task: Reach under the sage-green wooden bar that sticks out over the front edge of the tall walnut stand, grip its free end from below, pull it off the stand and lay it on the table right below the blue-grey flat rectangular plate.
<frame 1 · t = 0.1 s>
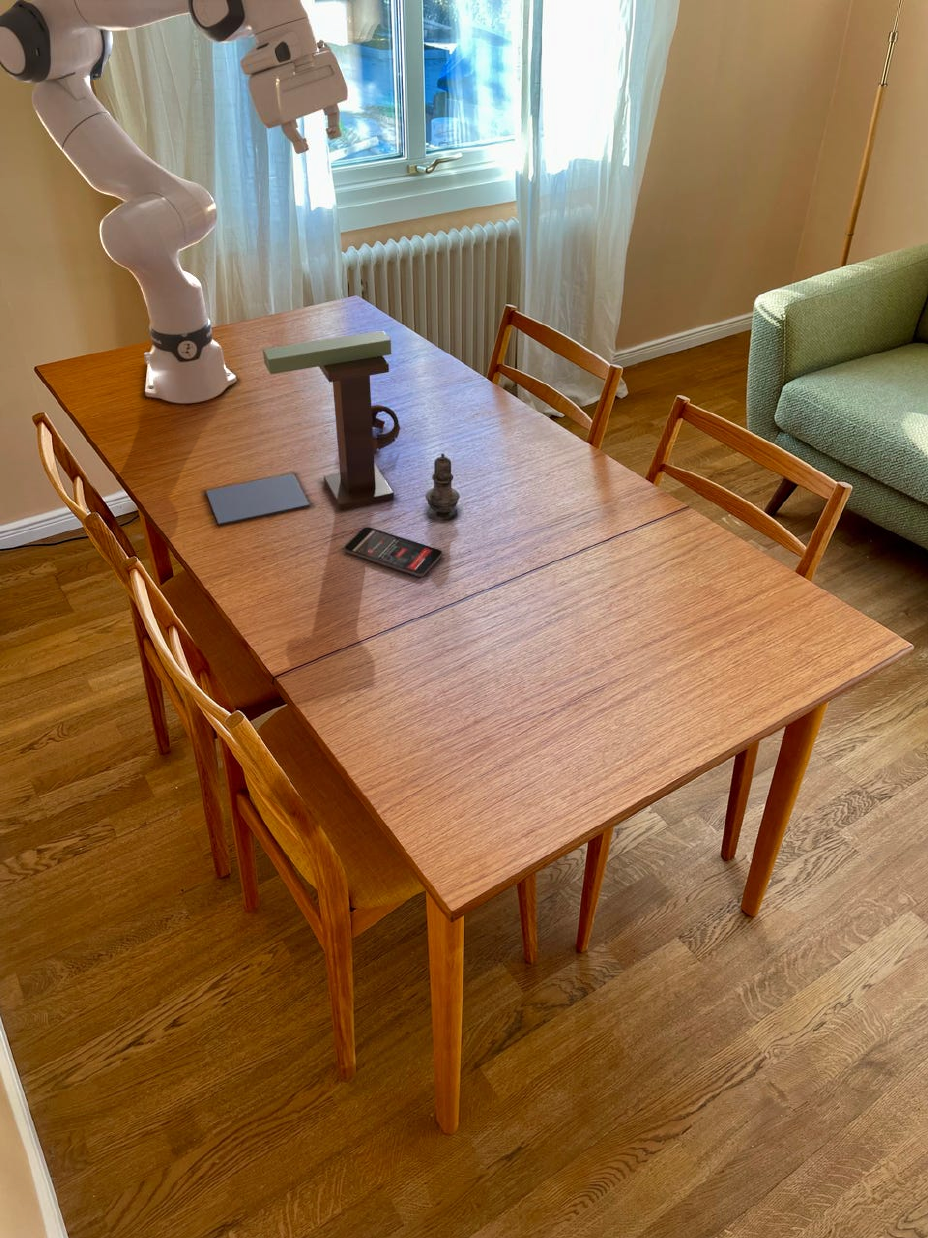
hand: (319, 144, 152), 52 cm above the table, tool tilted 20°, fingers open, 8 cm apart
bar: (328, 358, 152), point 26 cm above the table, touching stand
pottery mug: (370, 441, 183), on the table
smartphone: (393, 554, 156), on the table
blue-grey flat rectangular plate: (257, 499, 167), on the table
salt shaker: (442, 513, 165), on the table
stand: (358, 491, 170), on the table
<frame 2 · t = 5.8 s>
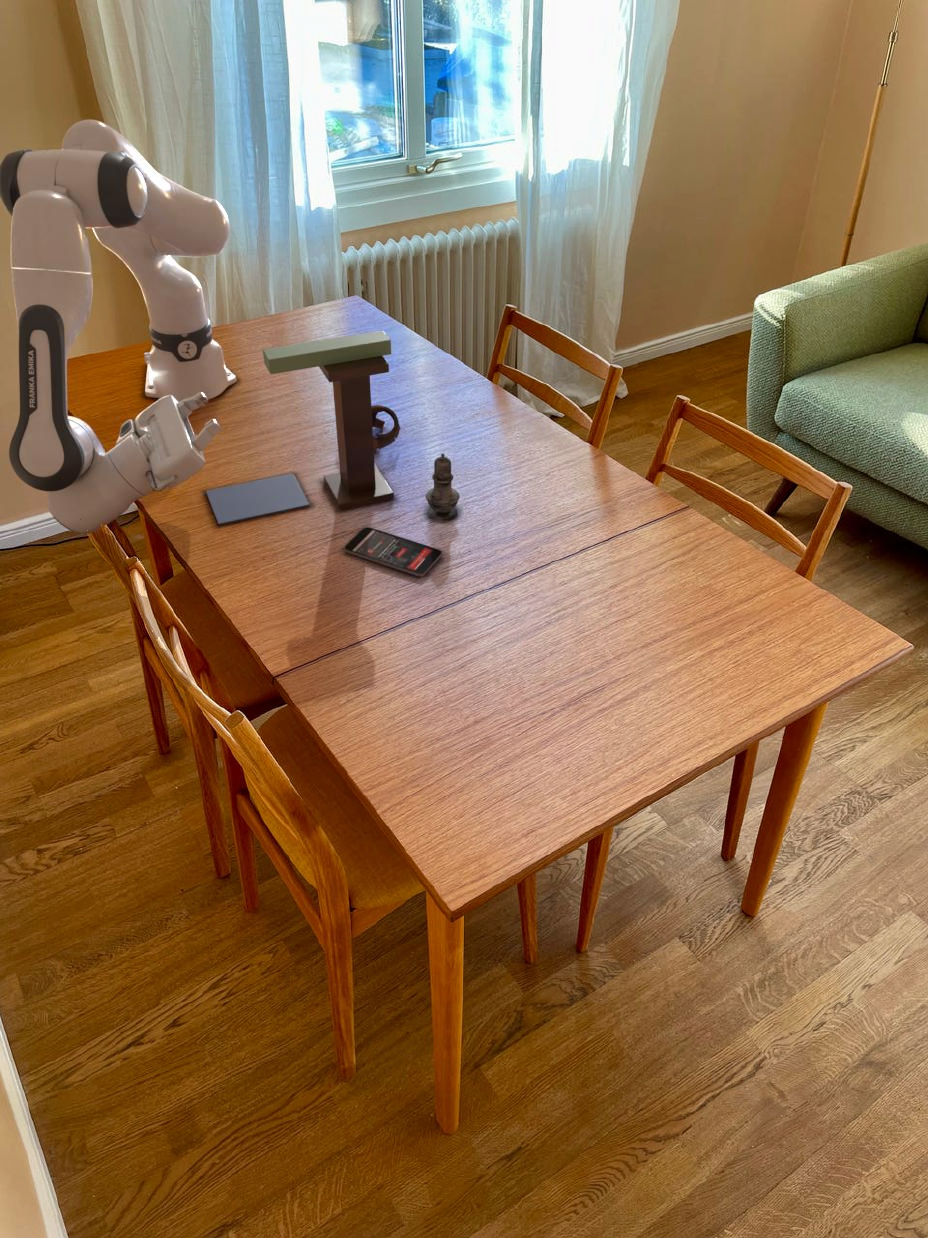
hand: (211, 409, 149), 21 cm above the table, tool pointing upward, fingers open, 8 cm apart
nothing on the table moved.
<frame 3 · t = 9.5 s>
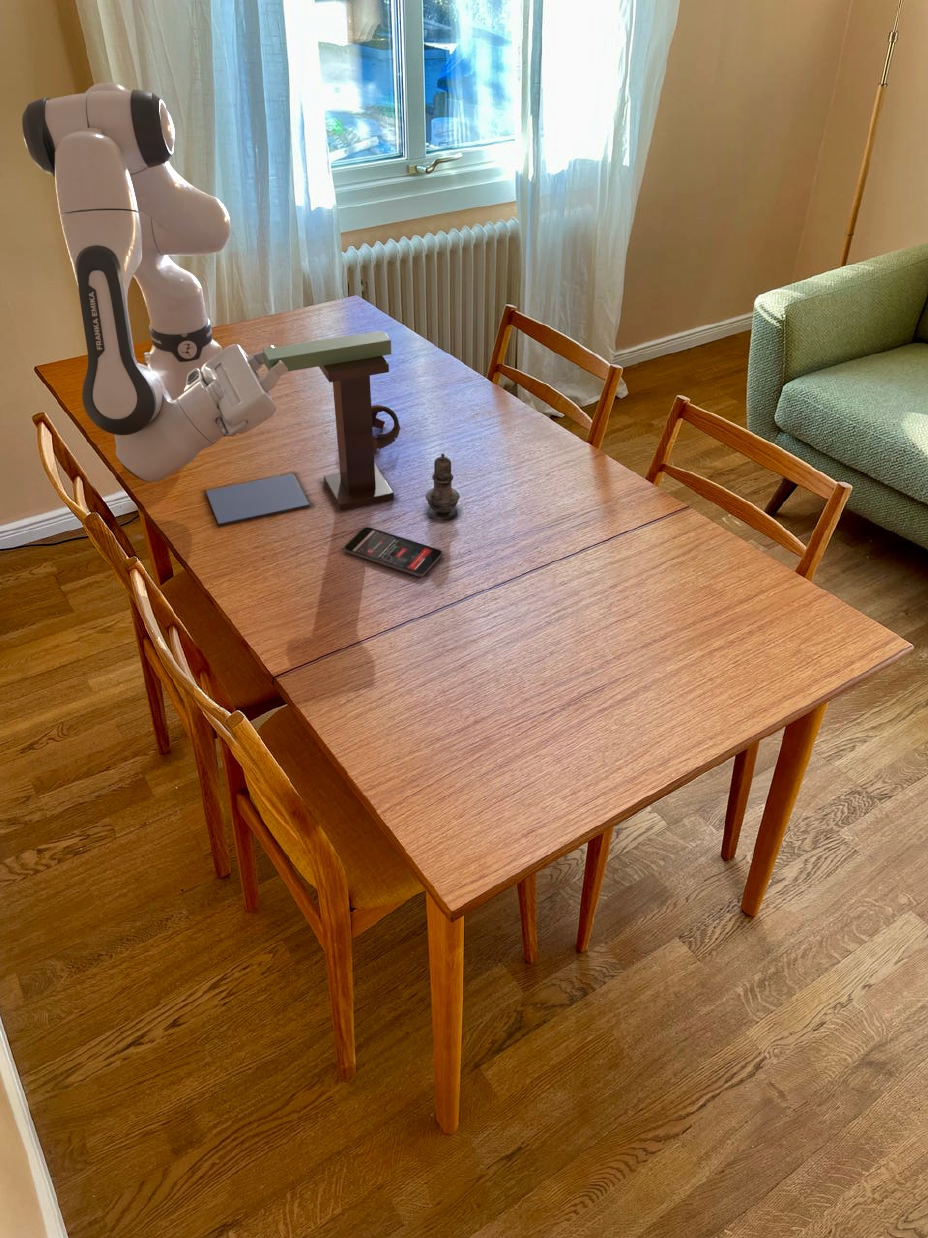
hand: (280, 356, 148), 28 cm above the table, tool pointing upward, fingers closed on bar, 4 cm apart
bar: (328, 359, 152), point 26 cm above the table, touching gripper, stand
everything else where it was.
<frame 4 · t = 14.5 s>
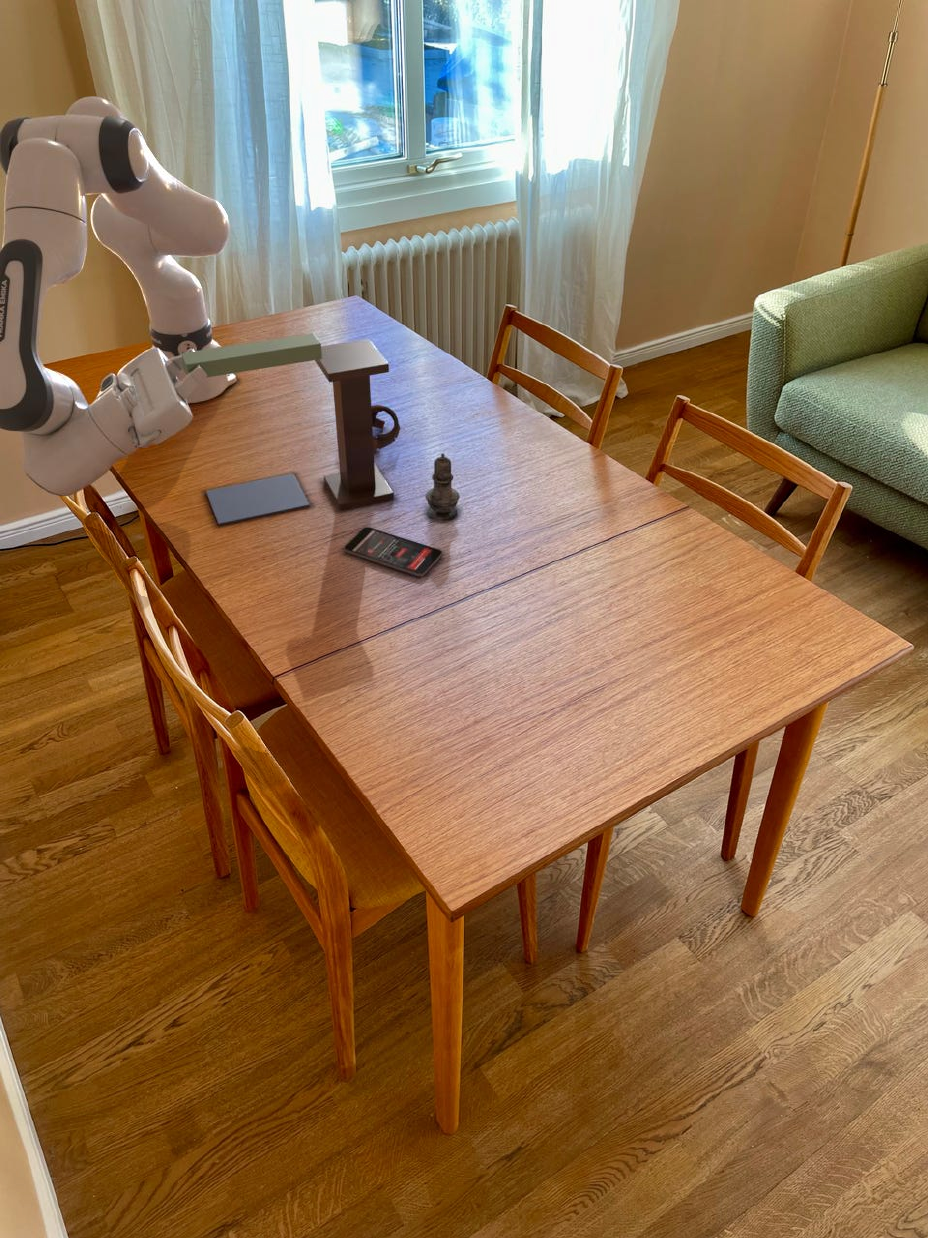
hand: (199, 361, 138), 32 cm above the table, tool pointing upward, fingers closed on bar, 4 cm apart
bar: (253, 363, 141), point 30 cm above the table, touching gripper
everything else where it was.
when the fingers open (10 cm above the table, at t = 19.5 s): bar drops 5 cm, on the table.
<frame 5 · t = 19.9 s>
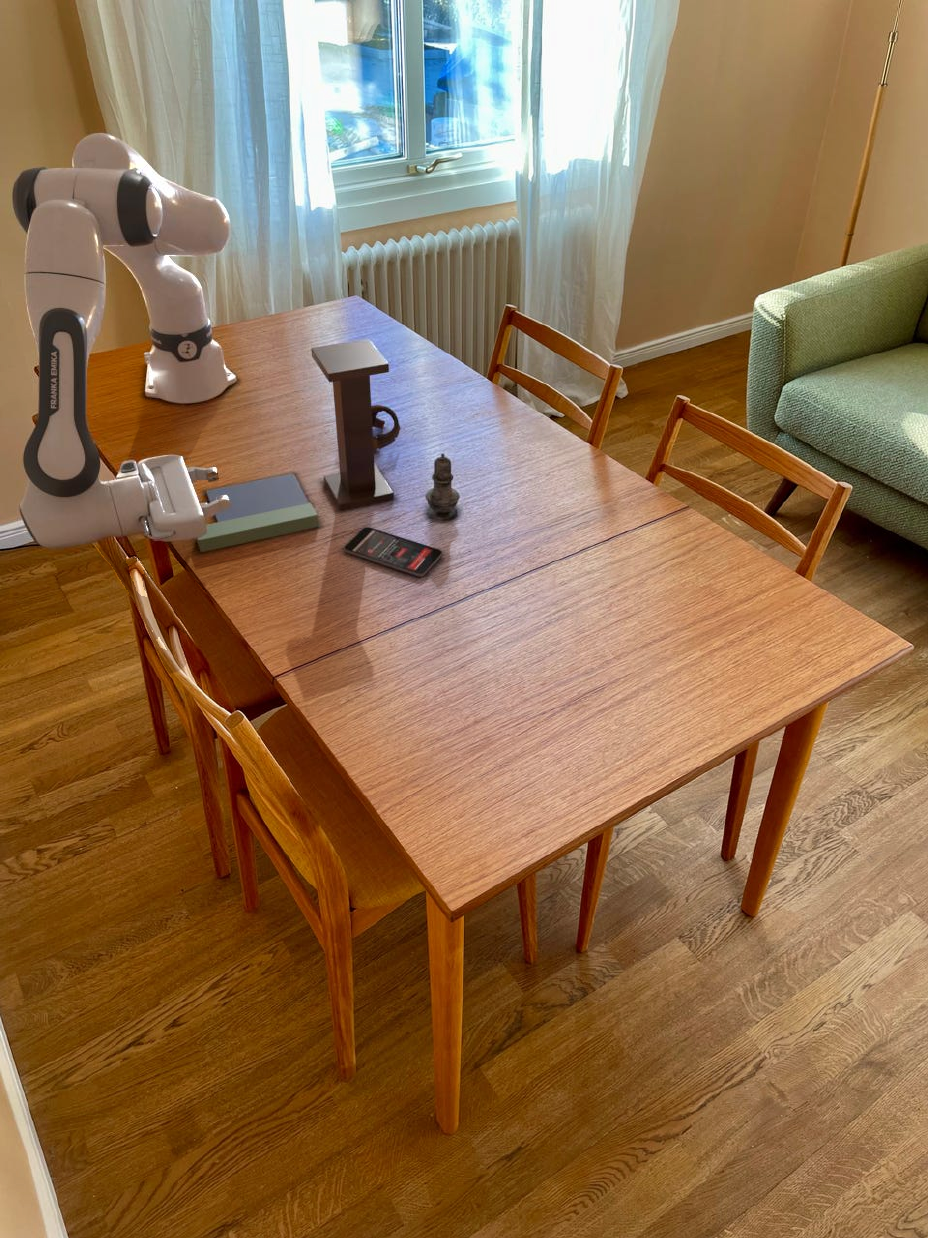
hand: (223, 487, 152), 10 cm above the table, tool horizontal, fingers open, 7 cm apart
bar: (258, 533, 160), on the table
everything else where it was.
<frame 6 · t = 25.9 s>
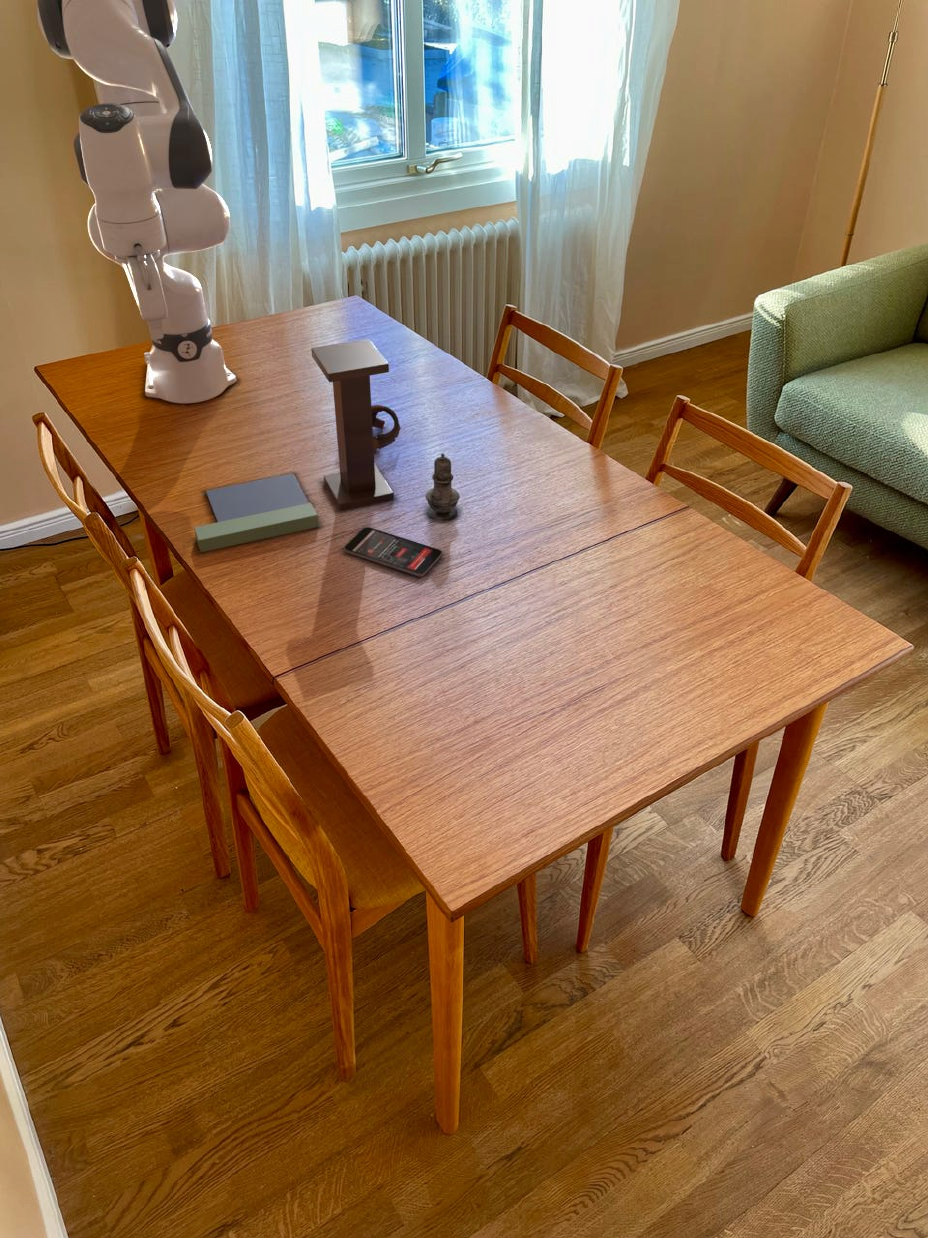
hand: (152, 324, 146), 32 cm above the table, tool pointing down, fingers open, 8 cm apart
nothing on the table moved.
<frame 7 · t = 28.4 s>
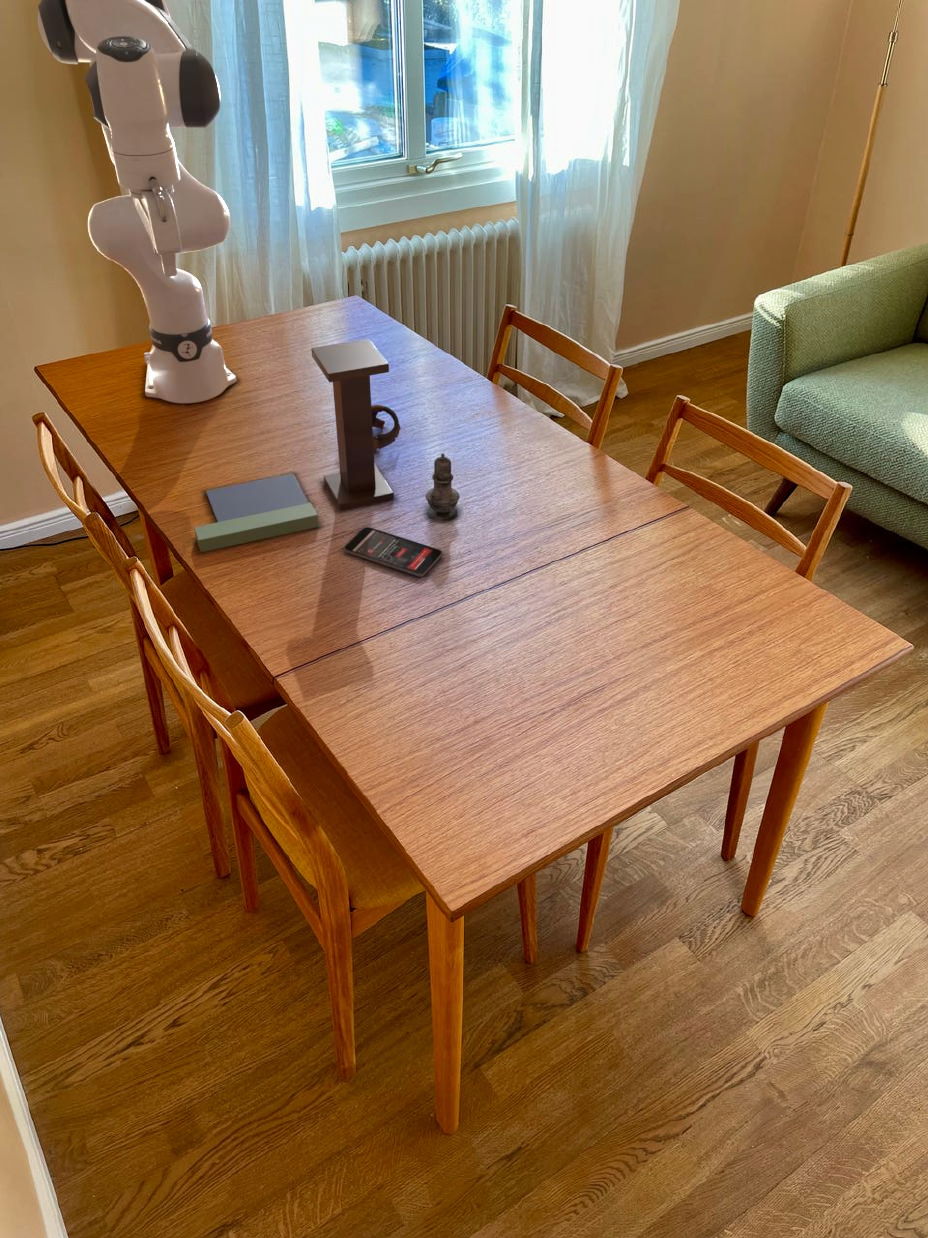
hand: (165, 263, 147), 39 cm above the table, tool pointing down, fingers open, 8 cm apart
nothing on the table moved.
at the end: bar inside the target area on the table beside the blue-grey flat rectangular plate (2.5 cm from its centre), on the table; bar touching table; bar tilted 0° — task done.
